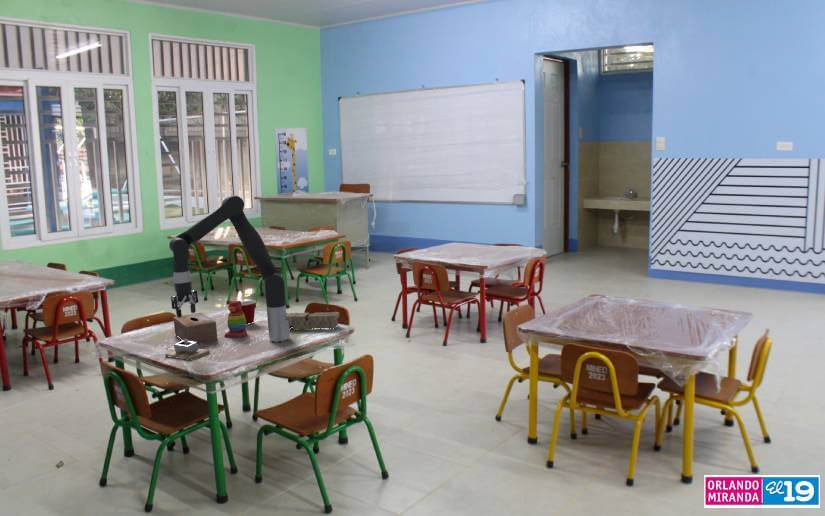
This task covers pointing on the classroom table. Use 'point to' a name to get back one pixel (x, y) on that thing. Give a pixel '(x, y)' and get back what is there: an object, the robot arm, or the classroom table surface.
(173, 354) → the keeper board
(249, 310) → the plastic cup
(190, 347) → the grey storage bin
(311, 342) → the classroom table surface
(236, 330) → the stacking bear
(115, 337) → the classroom table surface
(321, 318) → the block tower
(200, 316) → the tissue box cover
